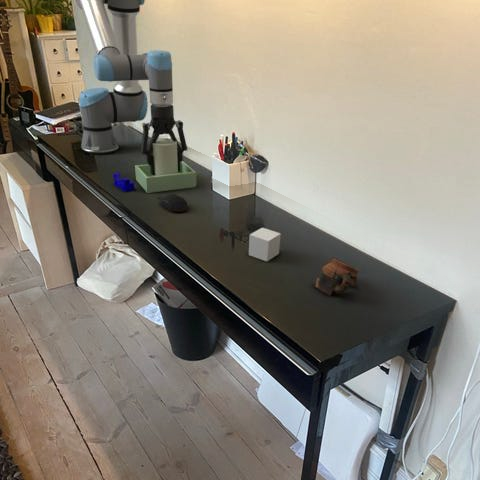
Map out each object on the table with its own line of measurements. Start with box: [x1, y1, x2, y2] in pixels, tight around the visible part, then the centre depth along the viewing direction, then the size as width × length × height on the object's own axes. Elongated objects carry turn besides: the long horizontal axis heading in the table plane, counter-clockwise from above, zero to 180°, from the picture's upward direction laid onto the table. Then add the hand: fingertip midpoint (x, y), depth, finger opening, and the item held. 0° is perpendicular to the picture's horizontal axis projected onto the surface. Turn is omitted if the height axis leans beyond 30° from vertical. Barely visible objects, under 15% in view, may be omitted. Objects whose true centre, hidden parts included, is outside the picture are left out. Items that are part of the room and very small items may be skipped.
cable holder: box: [112, 172, 135, 193], centre depth 170 cm, size 8×4×4 cm, turn 39°
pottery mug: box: [315, 257, 359, 296], centre depth 117 cm, size 12×10×8 cm
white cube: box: [248, 227, 282, 262], centre depth 131 cm, size 6×6×6 cm
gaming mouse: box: [159, 193, 189, 213], centre depth 158 cm, size 6×15×4 cm, turn 36°
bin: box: [134, 160, 197, 194], centre depth 174 cm, size 14×18×5 cm
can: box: [152, 137, 178, 176], centre depth 170 cm, size 9×9×12 cm
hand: (165, 172), depth 173 cm, fingers closed on can, 9 cm apart
